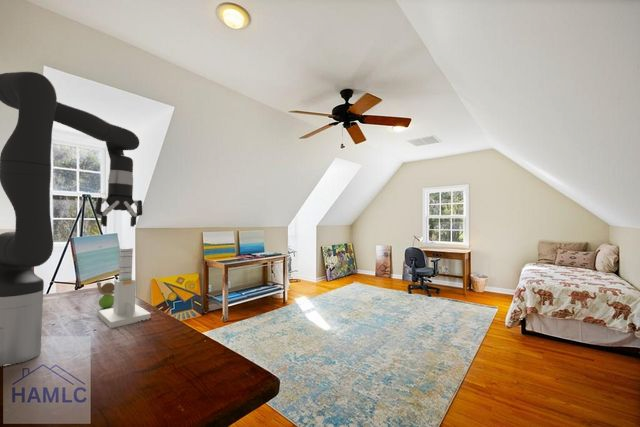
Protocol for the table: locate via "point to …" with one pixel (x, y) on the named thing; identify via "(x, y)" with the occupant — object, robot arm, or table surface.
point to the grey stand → (123, 306)
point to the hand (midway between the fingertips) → (119, 226)
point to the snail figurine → (106, 294)
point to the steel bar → (125, 264)
